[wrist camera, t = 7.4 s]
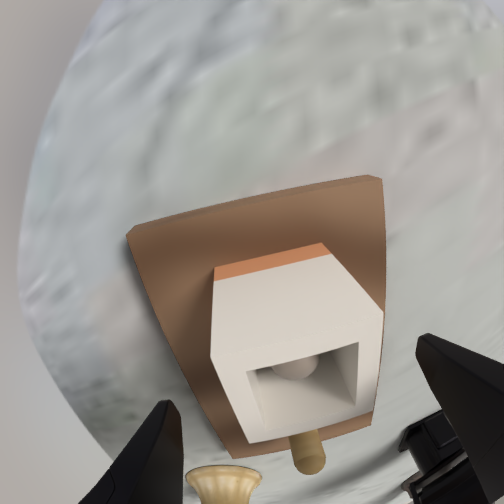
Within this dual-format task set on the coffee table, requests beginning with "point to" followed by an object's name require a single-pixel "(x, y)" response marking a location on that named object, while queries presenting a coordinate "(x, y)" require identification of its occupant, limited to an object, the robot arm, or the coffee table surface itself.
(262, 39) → the coffee table surface
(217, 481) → the hand bell
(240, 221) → the pin board
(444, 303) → the coffee table surface
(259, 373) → the sleeve
